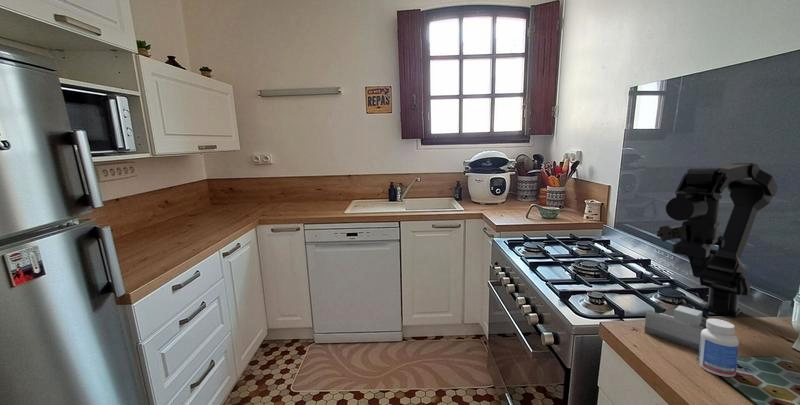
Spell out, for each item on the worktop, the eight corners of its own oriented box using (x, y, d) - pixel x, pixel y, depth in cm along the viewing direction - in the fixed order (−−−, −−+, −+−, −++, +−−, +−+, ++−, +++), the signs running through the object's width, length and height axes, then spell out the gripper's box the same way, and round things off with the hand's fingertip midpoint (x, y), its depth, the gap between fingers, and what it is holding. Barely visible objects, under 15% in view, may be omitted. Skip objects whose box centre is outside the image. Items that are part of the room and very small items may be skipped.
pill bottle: (744, 379, 61) (748, 331, 60) (710, 376, 62) (715, 329, 61) (721, 362, 67) (725, 317, 66) (691, 359, 68) (695, 315, 67)
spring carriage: (664, 312, 85) (665, 301, 85) (701, 323, 79) (702, 311, 79) (659, 316, 83) (660, 305, 83) (696, 327, 77) (697, 315, 77)
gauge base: (668, 313, 89) (670, 295, 88) (718, 327, 80) (720, 308, 80) (644, 332, 79) (645, 312, 78) (698, 350, 71) (700, 329, 70)
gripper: (673, 210, 93) (670, 263, 95) (649, 217, 82) (645, 276, 84) (727, 215, 84) (722, 272, 85) (707, 223, 73) (702, 288, 75)
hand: (696, 276), depth 83 cm, fingers closed
